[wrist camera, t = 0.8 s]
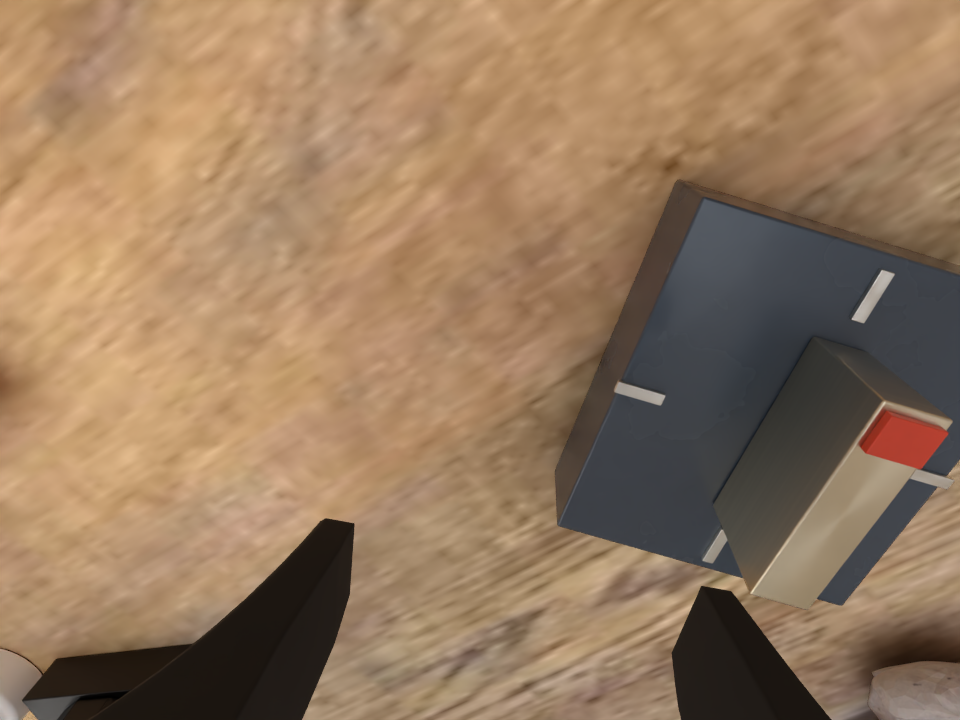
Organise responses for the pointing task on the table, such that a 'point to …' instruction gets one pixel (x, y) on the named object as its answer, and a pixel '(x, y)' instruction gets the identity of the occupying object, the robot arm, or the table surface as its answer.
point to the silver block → (823, 470)
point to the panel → (746, 370)
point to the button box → (93, 682)
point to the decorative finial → (15, 684)
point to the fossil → (916, 691)
